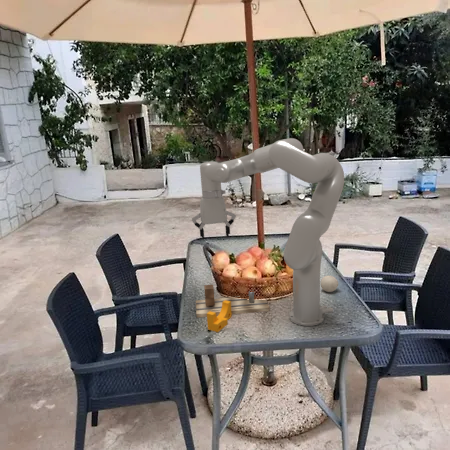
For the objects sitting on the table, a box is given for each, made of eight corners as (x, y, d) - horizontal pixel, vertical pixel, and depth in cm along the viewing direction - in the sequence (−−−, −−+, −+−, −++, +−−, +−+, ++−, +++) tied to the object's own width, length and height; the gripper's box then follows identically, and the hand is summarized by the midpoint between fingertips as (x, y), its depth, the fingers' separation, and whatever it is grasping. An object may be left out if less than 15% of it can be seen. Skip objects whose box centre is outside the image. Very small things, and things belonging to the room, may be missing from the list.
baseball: (341, 292, 170) (341, 277, 168) (325, 295, 168) (325, 280, 166) (333, 286, 176) (333, 272, 174) (317, 289, 174) (317, 274, 172)
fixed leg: (254, 300, 163) (253, 290, 162) (254, 303, 161) (254, 292, 160) (248, 301, 163) (248, 290, 162) (249, 303, 161) (249, 292, 160)
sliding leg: (214, 302, 163) (213, 284, 161) (214, 306, 159) (213, 288, 157) (205, 302, 162) (204, 285, 161) (205, 307, 159) (204, 289, 157)
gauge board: (264, 297, 169) (263, 293, 168) (269, 311, 157) (269, 306, 157) (195, 303, 167) (195, 299, 166) (196, 317, 155) (196, 313, 154)
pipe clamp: (218, 332, 144) (216, 316, 142) (207, 329, 146) (206, 313, 144) (235, 318, 154) (234, 302, 152) (225, 315, 156) (225, 300, 154)
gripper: (232, 190, 162) (235, 232, 167) (189, 194, 161) (193, 236, 165) (235, 194, 155) (238, 237, 159) (189, 198, 153) (194, 242, 158)
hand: (215, 237), depth 162 cm, fingers open, 9 cm apart
